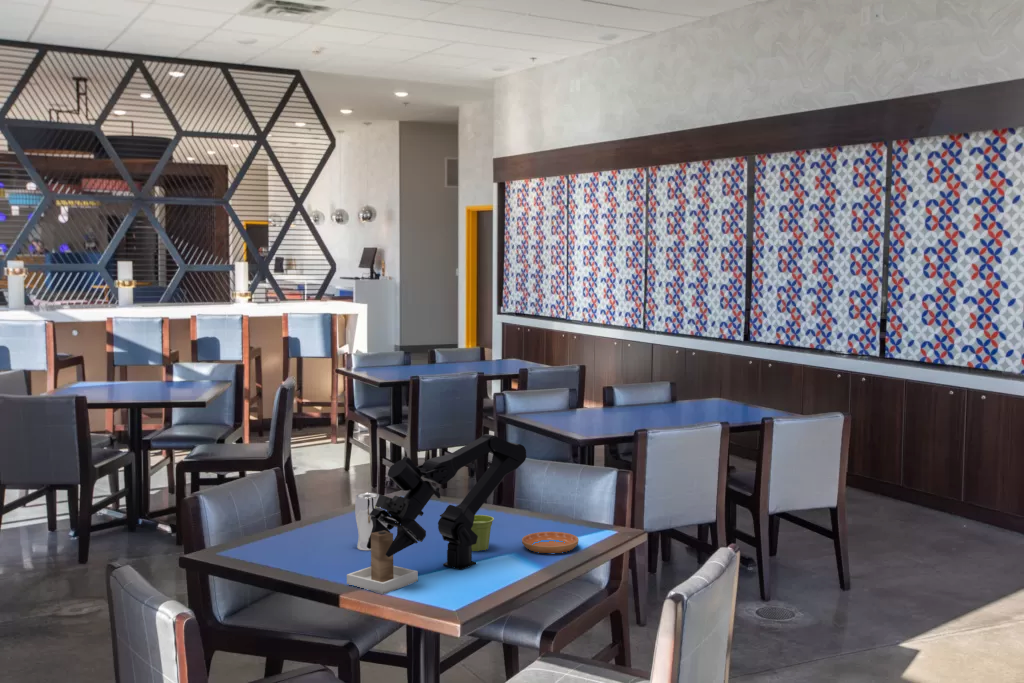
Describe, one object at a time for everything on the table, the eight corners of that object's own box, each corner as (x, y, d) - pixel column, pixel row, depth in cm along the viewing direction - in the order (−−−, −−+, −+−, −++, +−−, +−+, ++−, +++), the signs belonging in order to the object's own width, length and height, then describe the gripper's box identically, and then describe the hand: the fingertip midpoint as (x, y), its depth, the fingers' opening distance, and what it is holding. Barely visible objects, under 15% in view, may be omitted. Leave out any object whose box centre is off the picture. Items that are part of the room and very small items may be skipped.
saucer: (512, 552, 266) (512, 541, 266) (537, 538, 281) (537, 528, 280) (564, 559, 259) (564, 548, 259) (587, 545, 273) (587, 535, 273)
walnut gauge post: (385, 577, 241) (384, 529, 240) (393, 581, 238) (393, 532, 237) (371, 580, 239) (370, 531, 238) (379, 584, 235) (379, 535, 235)
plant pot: (454, 551, 267) (454, 520, 266) (470, 543, 275) (470, 513, 275) (484, 555, 263) (484, 524, 262) (499, 546, 271) (499, 516, 271)
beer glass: (380, 550, 268) (380, 497, 267) (355, 551, 267) (355, 498, 266) (380, 543, 275) (379, 492, 274) (355, 544, 273) (354, 493, 273)
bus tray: (382, 572, 247) (381, 562, 247) (417, 581, 240) (417, 571, 239) (346, 584, 237) (346, 574, 237) (383, 594, 230) (382, 583, 229)
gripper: (375, 476, 247) (338, 525, 240) (415, 488, 232) (376, 541, 226) (402, 502, 252) (366, 550, 246) (442, 515, 237) (405, 567, 231)
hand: (377, 551), depth 237 cm, fingers open, 9 cm apart
